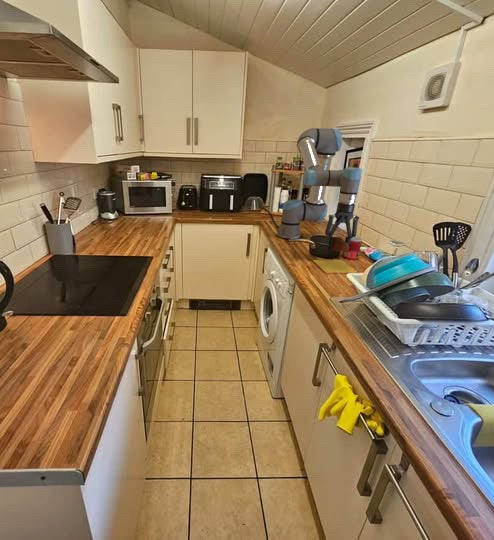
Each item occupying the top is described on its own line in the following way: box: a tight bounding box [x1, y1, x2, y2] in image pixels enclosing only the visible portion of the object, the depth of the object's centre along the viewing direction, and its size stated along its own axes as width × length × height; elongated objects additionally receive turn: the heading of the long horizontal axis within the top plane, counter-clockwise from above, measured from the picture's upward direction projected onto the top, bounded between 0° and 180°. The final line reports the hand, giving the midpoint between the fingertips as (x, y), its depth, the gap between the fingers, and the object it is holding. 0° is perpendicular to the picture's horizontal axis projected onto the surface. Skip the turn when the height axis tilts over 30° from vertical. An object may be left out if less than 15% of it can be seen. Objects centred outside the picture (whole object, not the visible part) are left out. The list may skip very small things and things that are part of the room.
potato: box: [331, 236, 349, 253], centre depth 146 cm, size 6×12×6 cm, turn 29°
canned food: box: [341, 235, 363, 261], centre depth 161 cm, size 8×8×11 cm
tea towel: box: [312, 259, 358, 274], centre depth 151 cm, size 16×16×1 cm
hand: (337, 249), depth 147 cm, fingers closed on potato, 7 cm apart
